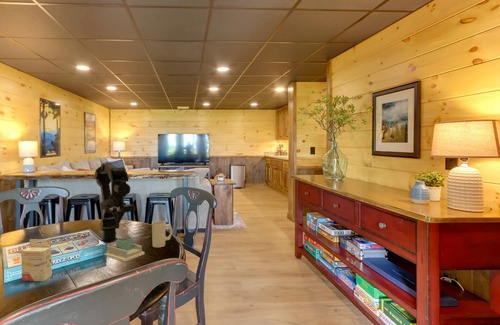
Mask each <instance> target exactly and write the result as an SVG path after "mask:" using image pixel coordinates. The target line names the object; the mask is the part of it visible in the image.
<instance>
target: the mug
mask: <svg viewBox="0 0 500 325" xmlns="http://www.w3.org/2000/svg"><path fill="white" fill-rule="evenodd" d="M167 229H169V235H167V236H166V230H167ZM172 235H173V227H172V226H171V223H168V224H167V223H166V221H164V220H156V221H152V222H151V237H152V238H151V239H152V240H151V241H152V244H151V245H152V247H153V248H157V249H158V248H162V247H165V246H166V241H169V240H171V237H172Z"/></svg>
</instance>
